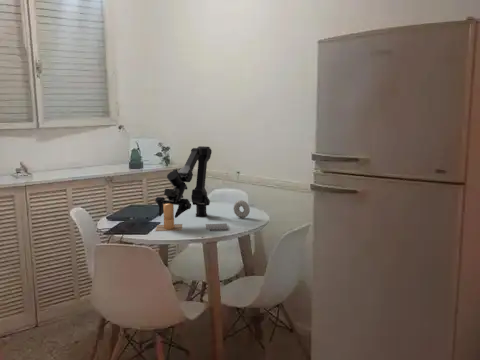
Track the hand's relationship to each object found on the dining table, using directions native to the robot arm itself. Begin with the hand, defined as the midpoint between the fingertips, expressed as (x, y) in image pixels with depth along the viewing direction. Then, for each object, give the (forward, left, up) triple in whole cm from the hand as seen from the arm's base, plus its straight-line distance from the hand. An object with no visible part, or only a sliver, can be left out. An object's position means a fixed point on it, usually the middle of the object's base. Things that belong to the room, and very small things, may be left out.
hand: (167, 216), depth 249 cm
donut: (-21, +40, -7) cm, 46 cm away
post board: (-1, +1, -7) cm, 7 cm away
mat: (0, +25, -7) cm, 26 cm away
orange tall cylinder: (-1, +1, -6) cm, 6 cm away
